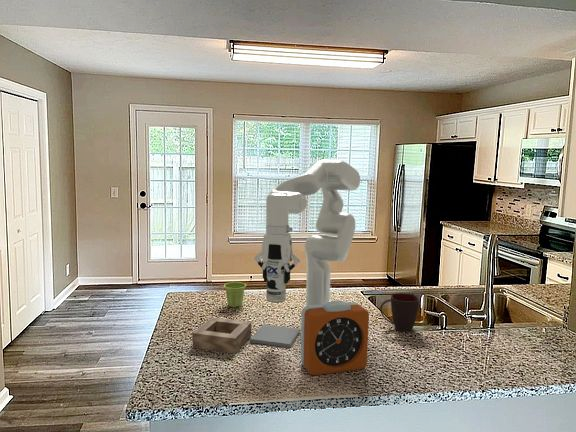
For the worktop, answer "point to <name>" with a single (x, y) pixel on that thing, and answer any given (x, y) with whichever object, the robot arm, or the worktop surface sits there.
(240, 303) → the plant pot
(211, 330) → the walnut collar
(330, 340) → the alarm clock
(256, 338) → the slate coaster
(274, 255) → the spray can
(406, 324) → the cup
